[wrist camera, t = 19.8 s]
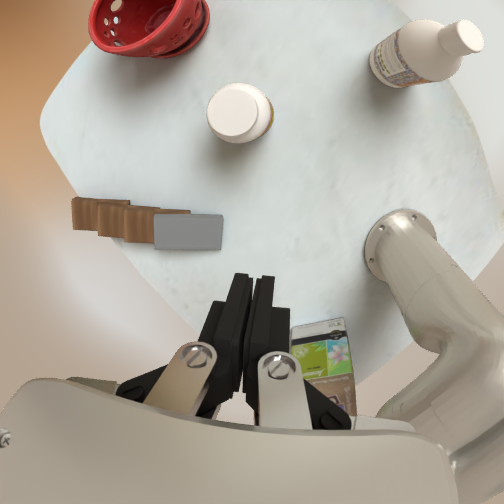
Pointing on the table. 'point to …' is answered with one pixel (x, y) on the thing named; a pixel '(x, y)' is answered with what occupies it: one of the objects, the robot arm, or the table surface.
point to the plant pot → (149, 26)
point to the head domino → (188, 231)
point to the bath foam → (424, 52)
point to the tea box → (326, 360)
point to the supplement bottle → (239, 113)
